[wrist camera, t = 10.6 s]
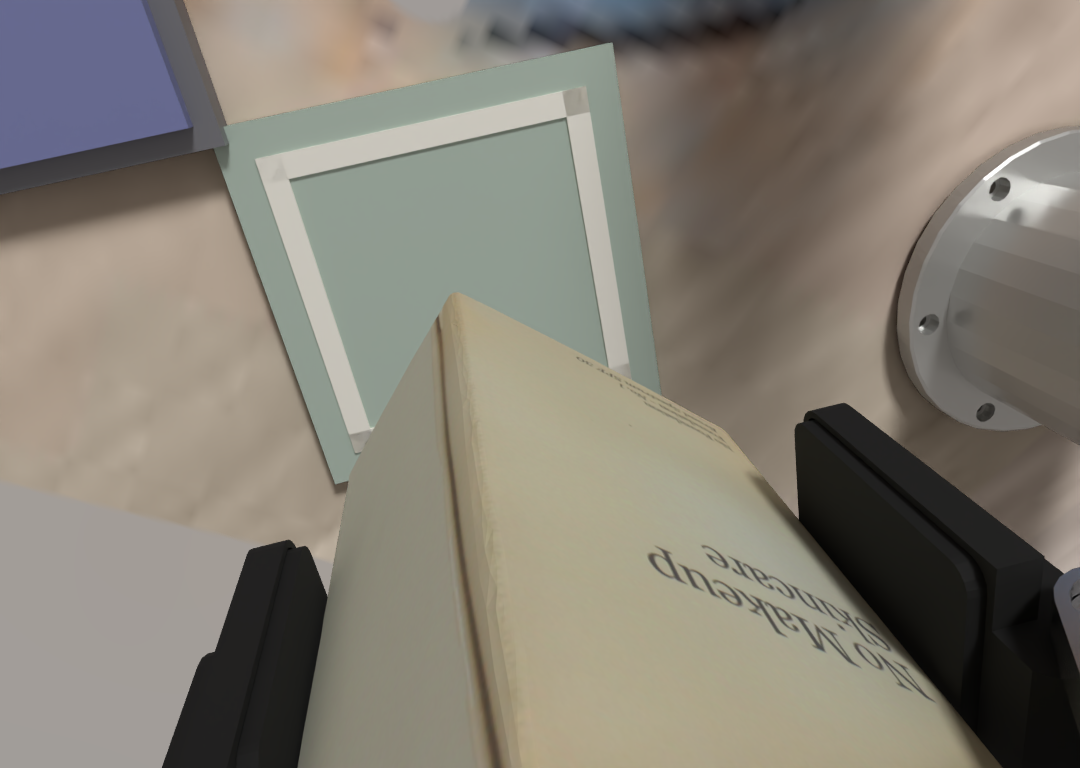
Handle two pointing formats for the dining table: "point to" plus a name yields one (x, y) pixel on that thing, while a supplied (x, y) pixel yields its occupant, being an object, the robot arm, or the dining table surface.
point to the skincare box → (591, 588)
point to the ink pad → (99, 88)
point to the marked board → (443, 226)
